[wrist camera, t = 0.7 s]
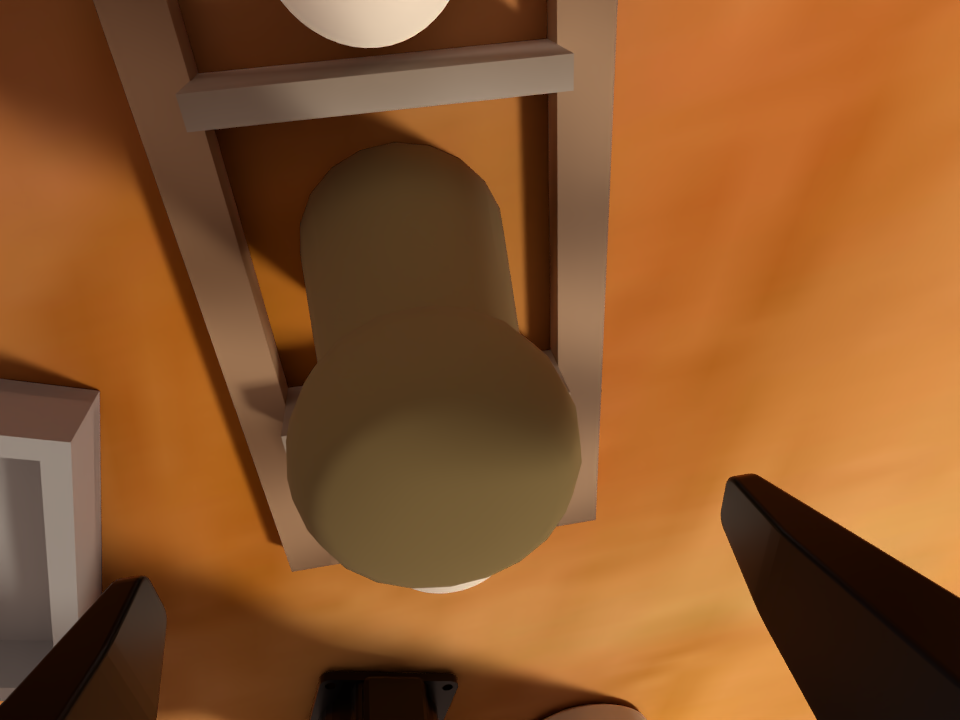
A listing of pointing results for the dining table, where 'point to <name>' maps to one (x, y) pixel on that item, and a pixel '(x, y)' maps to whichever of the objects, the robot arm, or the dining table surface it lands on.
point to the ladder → (355, 90)
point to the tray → (46, 519)
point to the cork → (422, 380)
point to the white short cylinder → (366, 19)
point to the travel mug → (597, 713)
